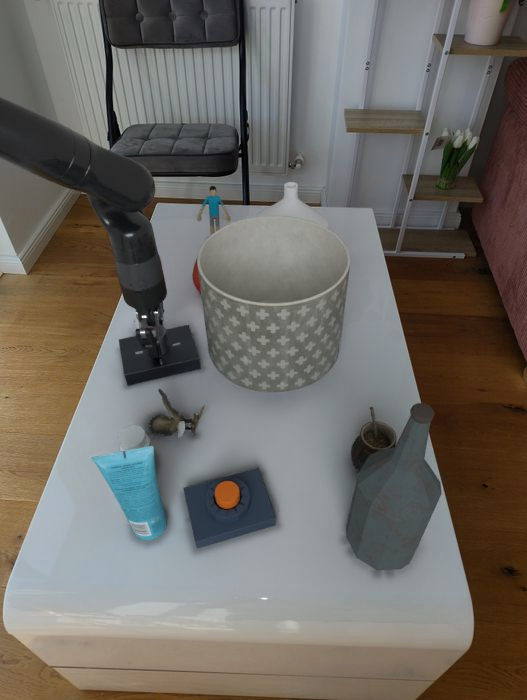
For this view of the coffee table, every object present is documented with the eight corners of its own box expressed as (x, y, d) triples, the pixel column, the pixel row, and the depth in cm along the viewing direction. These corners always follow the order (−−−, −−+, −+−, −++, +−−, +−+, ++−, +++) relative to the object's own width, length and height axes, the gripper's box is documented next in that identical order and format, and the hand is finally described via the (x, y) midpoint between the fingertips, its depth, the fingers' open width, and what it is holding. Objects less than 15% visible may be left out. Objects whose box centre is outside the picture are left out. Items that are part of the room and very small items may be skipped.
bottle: (408, 506, 79) (458, 373, 58) (424, 571, 72) (488, 447, 51) (341, 508, 79) (366, 376, 57) (350, 573, 72) (383, 451, 50)
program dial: (168, 356, 98) (164, 338, 94) (144, 356, 98) (140, 338, 94) (170, 340, 101) (167, 322, 98) (148, 340, 101) (143, 322, 98)
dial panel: (127, 386, 97) (124, 374, 95) (121, 350, 104) (118, 338, 101) (200, 369, 100) (199, 357, 97) (190, 335, 106) (188, 323, 104)
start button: (218, 512, 75) (217, 506, 73) (213, 490, 77) (212, 484, 76) (242, 505, 75) (242, 499, 74) (236, 484, 78) (235, 477, 77)
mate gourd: (362, 490, 81) (370, 454, 74) (339, 452, 86) (345, 415, 79) (402, 475, 83) (414, 438, 76) (377, 438, 88) (387, 401, 81)
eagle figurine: (209, 407, 91) (162, 388, 92) (202, 404, 84) (152, 384, 85) (192, 447, 90) (145, 428, 91) (184, 448, 83) (133, 427, 84)
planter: (219, 312, 111) (209, 213, 94) (336, 317, 109) (347, 217, 93) (200, 403, 94) (183, 301, 77) (339, 410, 92) (353, 307, 75)
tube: (171, 504, 80) (150, 429, 66) (177, 532, 76) (156, 461, 63) (122, 518, 78) (90, 445, 64) (126, 548, 75) (93, 477, 61)
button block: (196, 548, 75) (193, 536, 72) (184, 495, 81) (181, 481, 78) (275, 525, 77) (275, 512, 74) (258, 474, 83) (257, 460, 80)
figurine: (232, 236, 132) (228, 181, 121) (232, 244, 130) (228, 188, 119) (200, 238, 131) (193, 183, 121) (199, 245, 129) (193, 190, 119)
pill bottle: (121, 474, 83) (110, 445, 77) (133, 450, 87) (123, 420, 81) (149, 481, 82) (139, 451, 77) (160, 456, 86) (152, 425, 80)
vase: (317, 288, 116) (322, 212, 103) (240, 274, 121) (236, 199, 107) (334, 244, 129) (341, 171, 115) (264, 233, 133) (263, 161, 119)
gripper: (126, 251, 92) (144, 322, 104) (109, 302, 82) (131, 375, 94) (168, 250, 92) (181, 322, 104) (157, 301, 82) (173, 374, 94)
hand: (157, 346), depth 99 cm, fingers closed on program dial, 4 cm apart
